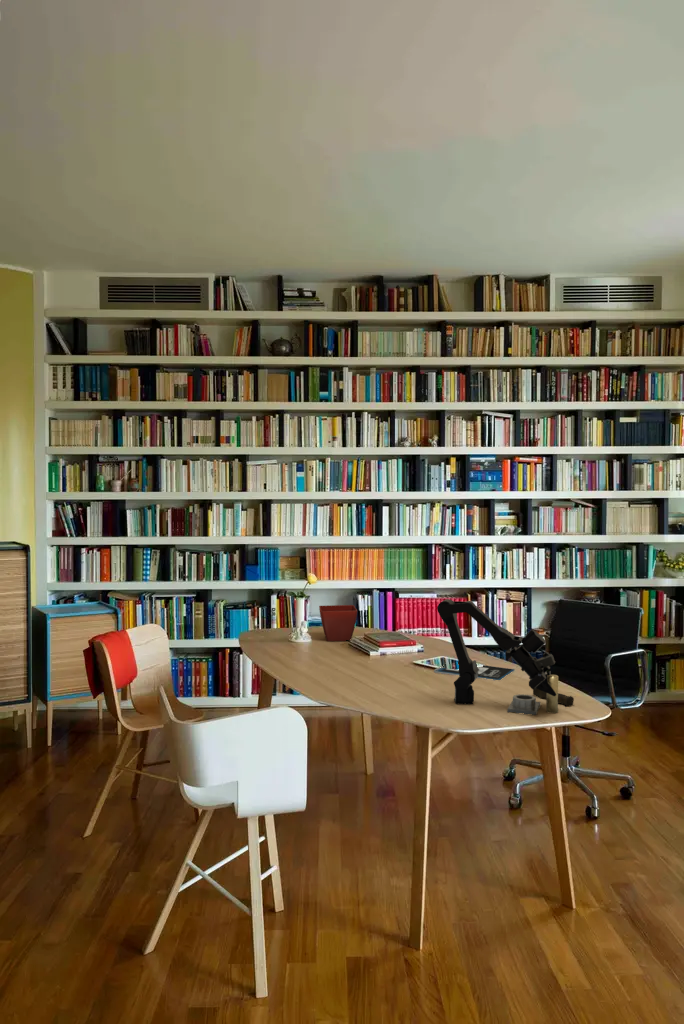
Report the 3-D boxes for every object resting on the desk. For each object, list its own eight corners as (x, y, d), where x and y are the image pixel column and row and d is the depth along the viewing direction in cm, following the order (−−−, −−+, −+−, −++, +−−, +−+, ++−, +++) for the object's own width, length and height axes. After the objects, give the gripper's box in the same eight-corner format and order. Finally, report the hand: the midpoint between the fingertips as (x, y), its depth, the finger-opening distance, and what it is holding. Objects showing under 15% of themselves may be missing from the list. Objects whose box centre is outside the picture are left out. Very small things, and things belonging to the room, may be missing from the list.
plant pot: (320, 643, 402) (320, 610, 401) (318, 636, 421) (319, 605, 420) (357, 642, 403) (357, 610, 403) (353, 635, 422) (353, 605, 422)
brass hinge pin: (547, 713, 277) (548, 677, 276) (545, 710, 281) (545, 674, 280) (559, 713, 277) (559, 677, 276) (556, 710, 281) (556, 674, 280)
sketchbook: (499, 682, 323) (499, 677, 323) (433, 674, 338) (433, 669, 338) (514, 671, 342) (514, 667, 342) (450, 664, 356) (450, 659, 356)
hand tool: (574, 706, 287) (574, 694, 287) (566, 707, 285) (566, 695, 285) (538, 694, 303) (538, 682, 303) (530, 695, 301) (531, 684, 301)
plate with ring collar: (507, 712, 278) (507, 700, 277) (513, 702, 291) (513, 691, 290) (535, 715, 274) (536, 703, 274) (540, 705, 287) (540, 693, 287)
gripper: (538, 651, 271) (570, 685, 267) (544, 641, 288) (574, 674, 285) (515, 671, 274) (547, 706, 270) (522, 661, 291) (552, 693, 288)
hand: (556, 693), depth 278 cm, fingers open, 4 cm apart
